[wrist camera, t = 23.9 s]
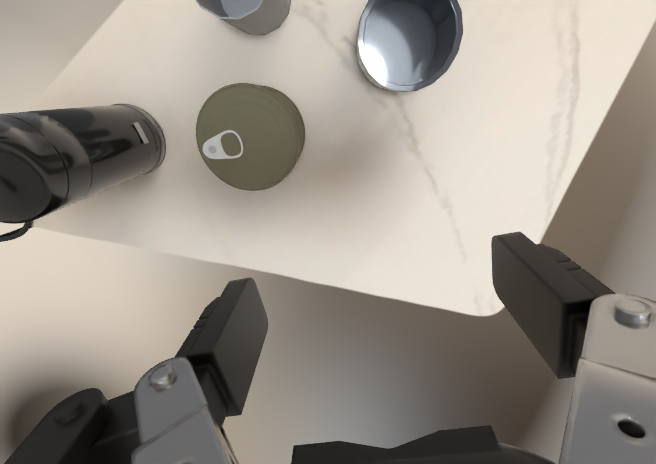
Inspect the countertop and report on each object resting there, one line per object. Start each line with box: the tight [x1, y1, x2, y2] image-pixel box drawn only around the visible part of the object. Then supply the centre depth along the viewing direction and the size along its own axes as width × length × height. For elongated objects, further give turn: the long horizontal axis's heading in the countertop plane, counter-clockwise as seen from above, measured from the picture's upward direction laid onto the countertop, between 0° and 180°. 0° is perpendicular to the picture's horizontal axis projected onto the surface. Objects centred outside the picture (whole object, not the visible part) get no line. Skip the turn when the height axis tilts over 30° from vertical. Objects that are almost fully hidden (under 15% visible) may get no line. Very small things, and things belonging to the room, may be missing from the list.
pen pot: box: [356, 0, 463, 92], centre depth 35 cm, size 10×10×8 cm
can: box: [196, 83, 305, 191], centre depth 41 cm, size 12×12×7 cm
